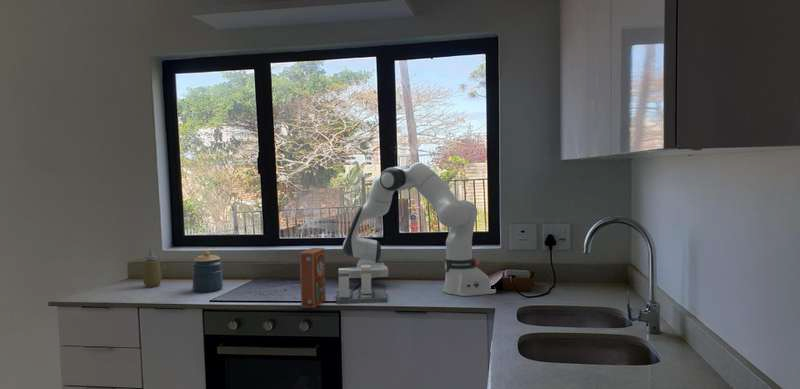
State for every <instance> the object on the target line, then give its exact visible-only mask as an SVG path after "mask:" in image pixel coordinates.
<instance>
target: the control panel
mask: <svg viewBox="0 0 800 389" xmlns="http://www.w3.org/2000/svg"><path fill="white" fill-rule="evenodd" d="M325 257H326V256H325V248H324V247H311V248H308V249H306V250H303V251H300V253H299V279H300V296H301V297H300V298H301V299H300V301H301V304H300V305H301V309H315V308H316V307H318V306H319V305H321V304H322V303H323V302H325V301H326V300H327V299H326V297H327V296H326V259H325Z"/></svg>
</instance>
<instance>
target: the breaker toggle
mask: <svg viewBox="0 0 800 389" xmlns="http://www.w3.org/2000/svg"><path fill="white" fill-rule="evenodd" d="M360 282H361V287H360V288H361V289H360V290H361V291H362V294H371V290H372V279H371V265H366V266H361V278H360Z"/></svg>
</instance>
